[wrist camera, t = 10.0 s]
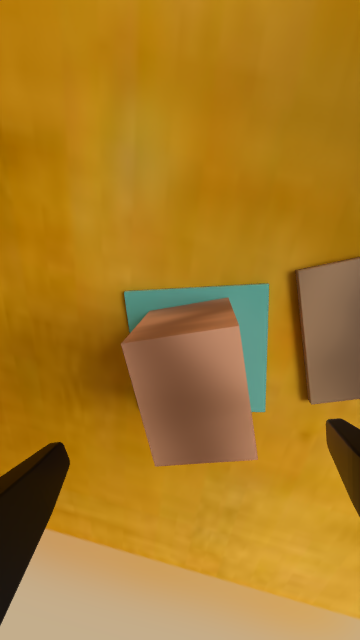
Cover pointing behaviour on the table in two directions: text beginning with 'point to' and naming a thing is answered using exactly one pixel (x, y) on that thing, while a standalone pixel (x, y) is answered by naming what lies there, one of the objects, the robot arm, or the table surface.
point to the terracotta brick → (192, 384)
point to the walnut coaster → (331, 329)
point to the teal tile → (248, 312)
